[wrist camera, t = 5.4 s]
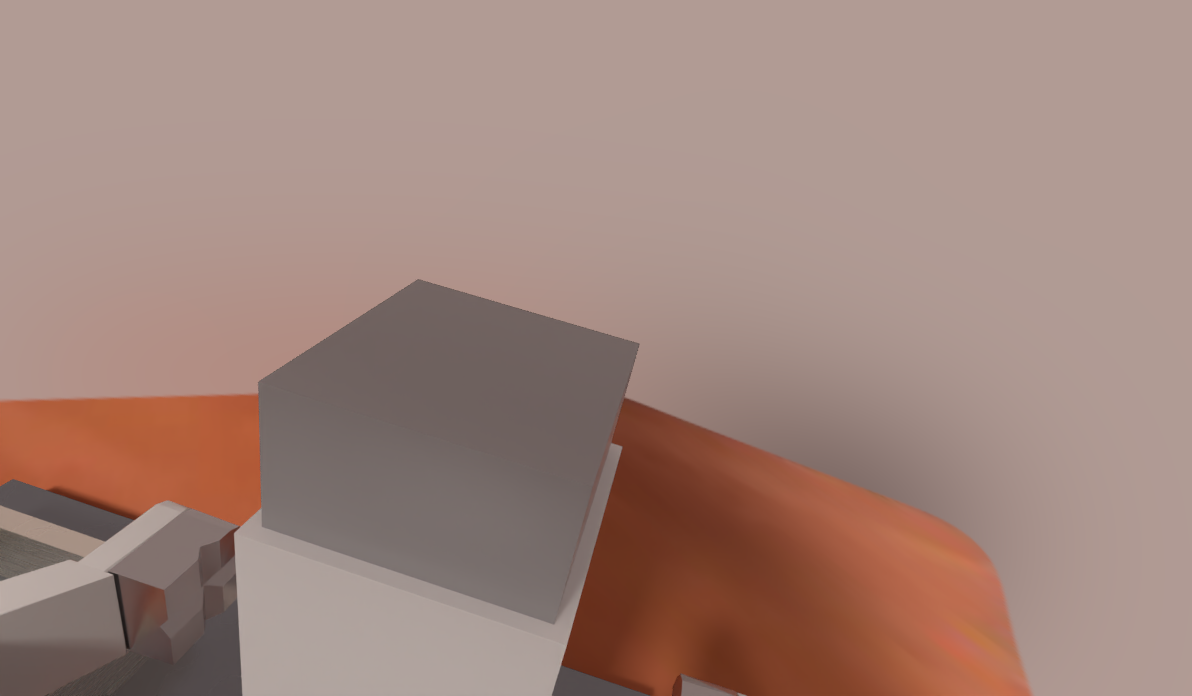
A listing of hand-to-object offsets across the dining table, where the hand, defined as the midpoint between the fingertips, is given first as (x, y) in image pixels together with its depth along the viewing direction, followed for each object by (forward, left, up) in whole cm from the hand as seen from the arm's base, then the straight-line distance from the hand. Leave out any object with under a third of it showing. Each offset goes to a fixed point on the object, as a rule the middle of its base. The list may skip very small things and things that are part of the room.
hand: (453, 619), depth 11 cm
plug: (0, -1, -7) cm, 7 cm away
